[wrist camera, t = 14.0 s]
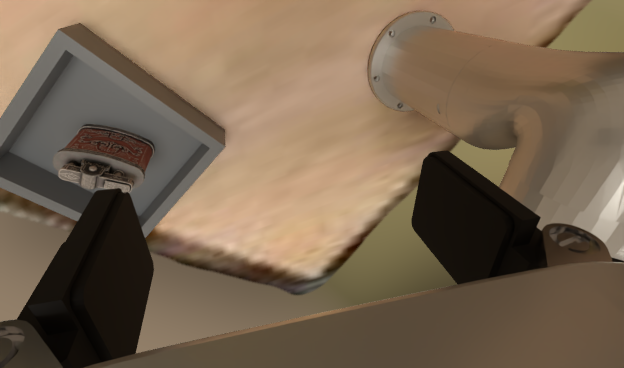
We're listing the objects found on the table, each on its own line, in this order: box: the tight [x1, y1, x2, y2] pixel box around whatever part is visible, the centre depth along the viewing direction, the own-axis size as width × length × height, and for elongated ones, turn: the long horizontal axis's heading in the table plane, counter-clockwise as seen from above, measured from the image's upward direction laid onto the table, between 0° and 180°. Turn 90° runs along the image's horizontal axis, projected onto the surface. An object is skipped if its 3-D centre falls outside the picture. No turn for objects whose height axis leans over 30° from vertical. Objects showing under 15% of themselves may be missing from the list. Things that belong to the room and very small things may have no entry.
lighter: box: [53, 124, 155, 193], centre depth 35 cm, size 8×3×10 cm, turn 66°
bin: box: [0, 23, 225, 238], centre depth 38 cm, size 18×18×6 cm
